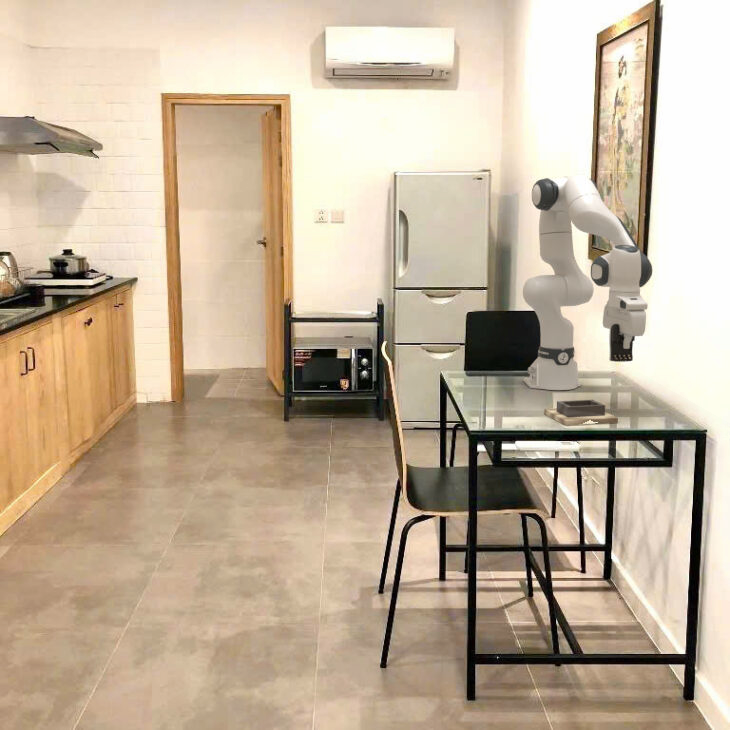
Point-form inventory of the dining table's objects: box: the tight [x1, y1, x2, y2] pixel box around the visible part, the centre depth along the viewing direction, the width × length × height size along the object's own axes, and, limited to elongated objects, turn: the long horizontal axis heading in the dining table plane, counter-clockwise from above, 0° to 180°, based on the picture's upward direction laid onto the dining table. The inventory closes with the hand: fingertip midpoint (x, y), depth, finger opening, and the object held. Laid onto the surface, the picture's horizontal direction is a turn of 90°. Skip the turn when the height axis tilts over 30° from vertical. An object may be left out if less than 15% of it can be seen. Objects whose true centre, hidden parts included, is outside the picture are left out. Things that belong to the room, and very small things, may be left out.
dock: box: [543, 399, 619, 427], centre depth 266 cm, size 16×16×4 cm
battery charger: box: [608, 323, 636, 363], centre depth 269 cm, size 7×4×11 cm, turn 98°
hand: (621, 347), depth 269 cm, fingers closed on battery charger, 3 cm apart
